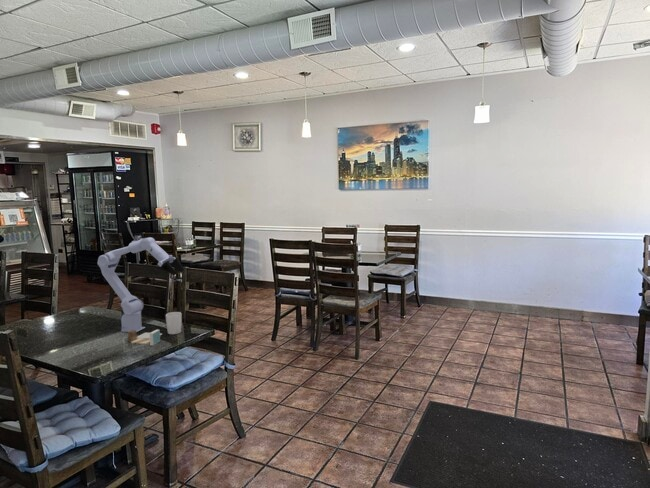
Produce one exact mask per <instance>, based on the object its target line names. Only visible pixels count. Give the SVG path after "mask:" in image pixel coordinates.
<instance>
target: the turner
mask: <svg viewBox="0 0 650 488" xmlns="http://www.w3.org/2000/svg"><path fill="white" fill-rule="evenodd" d="M137 333H138V332H136V331H135V330H131V331H129V332H127V337H128V338H127V341H128V343H130V344H135V343H136V344H137V345H147V344H148V343H149V344H150V339H145V338H137V337H138V336H137Z"/></svg>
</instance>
